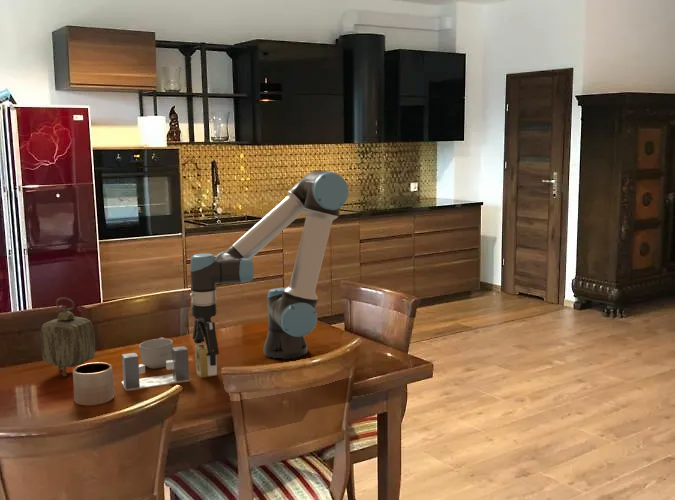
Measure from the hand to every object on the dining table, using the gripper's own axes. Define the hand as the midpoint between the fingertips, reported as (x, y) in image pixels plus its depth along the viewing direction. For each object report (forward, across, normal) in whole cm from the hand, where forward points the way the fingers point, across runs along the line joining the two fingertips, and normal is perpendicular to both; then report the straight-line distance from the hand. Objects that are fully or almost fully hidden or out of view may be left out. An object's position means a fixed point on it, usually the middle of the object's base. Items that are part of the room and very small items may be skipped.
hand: (206, 368), depth 224 cm
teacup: (+2, -17, -11) cm, 20 cm away
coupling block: (+2, 0, 0) cm, 2 cm away
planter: (+2, +7, -35) cm, 36 cm away
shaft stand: (+2, 0, -16) cm, 16 cm away
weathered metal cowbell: (+2, -20, -39) cm, 44 cm away
